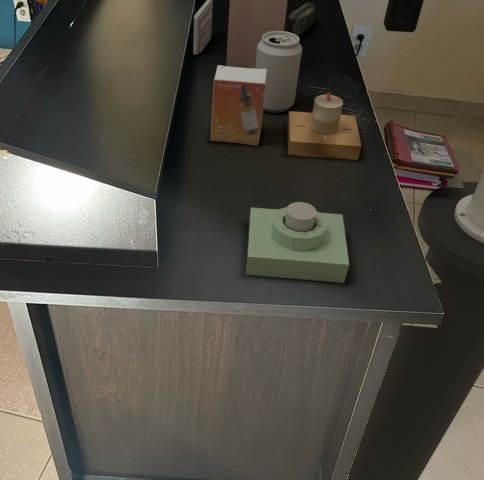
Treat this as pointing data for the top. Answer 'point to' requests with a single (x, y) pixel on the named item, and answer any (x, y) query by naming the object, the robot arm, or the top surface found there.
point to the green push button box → (296, 247)
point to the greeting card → (251, 28)
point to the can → (279, 68)
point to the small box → (238, 104)
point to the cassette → (202, 27)
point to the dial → (326, 114)
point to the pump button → (300, 217)
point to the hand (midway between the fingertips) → (398, 28)
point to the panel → (322, 138)
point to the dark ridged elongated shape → (301, 19)
